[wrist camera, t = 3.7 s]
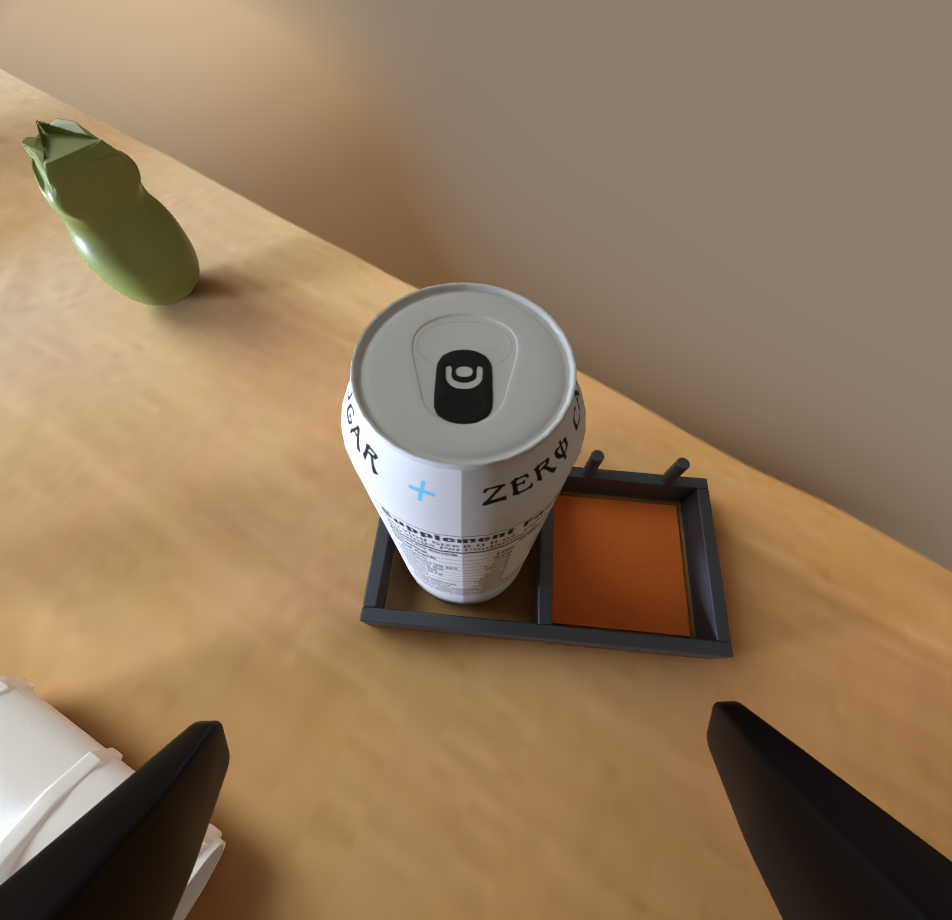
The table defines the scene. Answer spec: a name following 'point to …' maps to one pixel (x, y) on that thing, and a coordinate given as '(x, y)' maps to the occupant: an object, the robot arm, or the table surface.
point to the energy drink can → (463, 431)
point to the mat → (618, 566)
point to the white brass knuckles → (61, 783)
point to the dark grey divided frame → (586, 480)
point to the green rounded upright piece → (112, 214)
